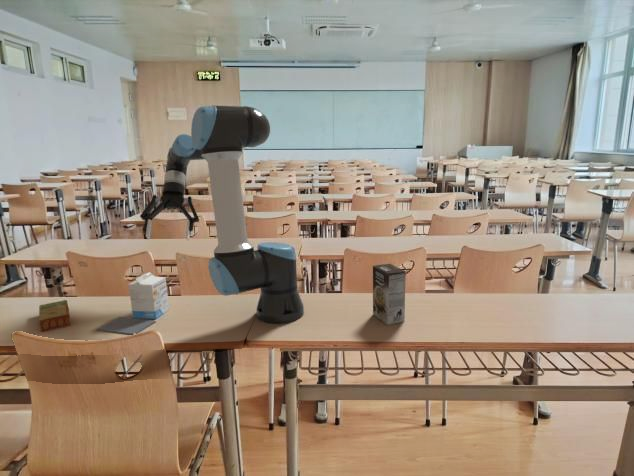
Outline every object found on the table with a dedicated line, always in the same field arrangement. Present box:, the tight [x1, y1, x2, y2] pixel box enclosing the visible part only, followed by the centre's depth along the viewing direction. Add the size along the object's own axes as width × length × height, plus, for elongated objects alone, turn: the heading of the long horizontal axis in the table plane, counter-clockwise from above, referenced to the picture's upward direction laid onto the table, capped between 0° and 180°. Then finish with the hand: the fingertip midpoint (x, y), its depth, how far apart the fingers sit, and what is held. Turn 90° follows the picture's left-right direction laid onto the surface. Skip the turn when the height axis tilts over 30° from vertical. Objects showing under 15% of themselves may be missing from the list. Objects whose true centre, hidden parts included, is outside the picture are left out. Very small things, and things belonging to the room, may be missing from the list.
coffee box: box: [372, 263, 407, 326], centre depth 129 cm, size 9×6×16 cm
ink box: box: [128, 271, 170, 320], centre depth 139 cm, size 9×8×13 cm
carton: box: [38, 299, 72, 333], centre depth 138 cm, size 8×16×4 cm, turn 32°
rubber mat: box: [96, 316, 156, 335], centre depth 131 cm, size 14×9×1 cm
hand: (167, 238), depth 150 cm, fingers open, 13 cm apart
